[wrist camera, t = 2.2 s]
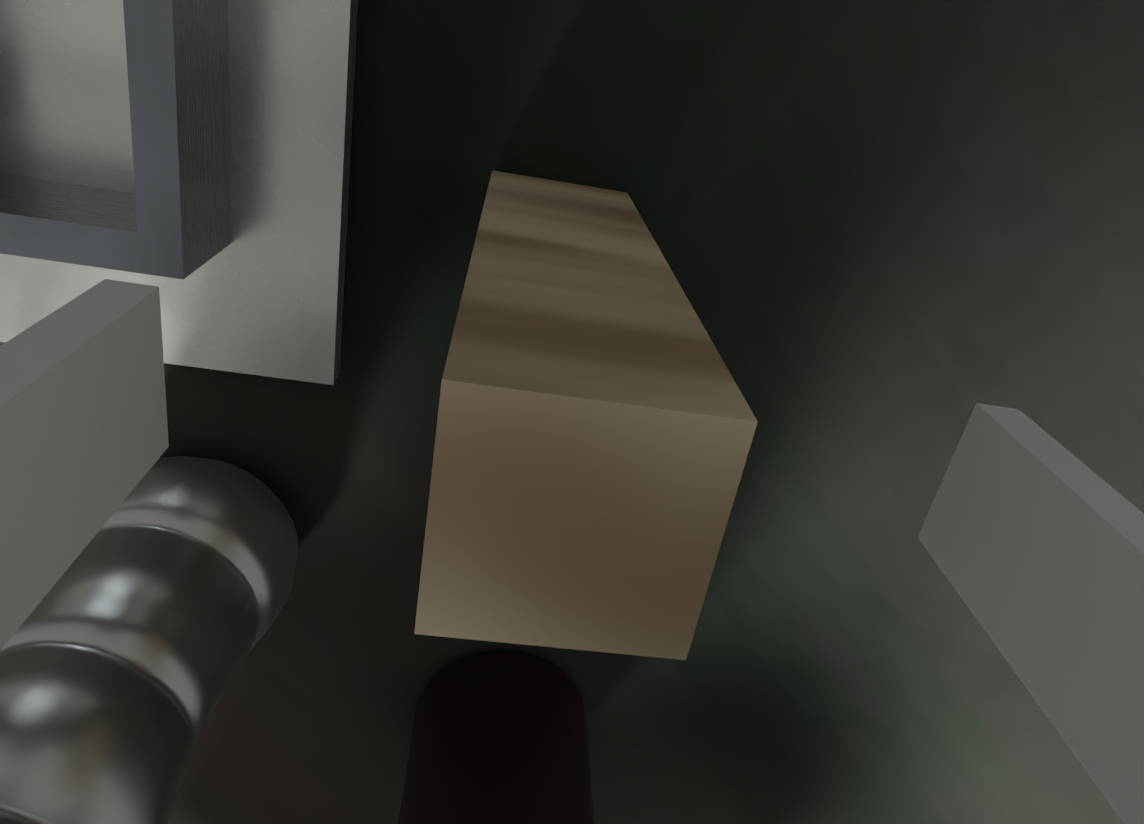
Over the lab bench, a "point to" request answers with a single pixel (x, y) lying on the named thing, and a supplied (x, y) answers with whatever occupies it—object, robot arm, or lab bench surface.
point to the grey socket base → (183, 170)
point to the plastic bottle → (140, 646)
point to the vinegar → (499, 746)
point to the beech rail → (577, 435)
